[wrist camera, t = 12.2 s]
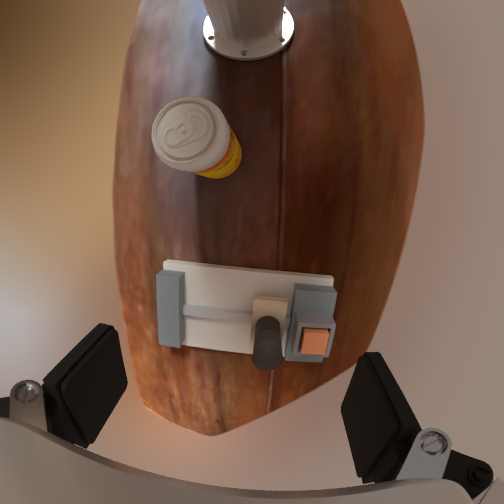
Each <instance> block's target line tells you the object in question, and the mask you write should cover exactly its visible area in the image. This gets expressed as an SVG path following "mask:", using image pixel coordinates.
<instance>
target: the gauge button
mask: <svg viewBox="0 0 504 504" xmlns="http://www.w3.org/2000/svg"><path fill="white" fill-rule="evenodd" d="M328 338H329V332H328V329H327V328H311V327H302V330H301V336H300V341H299V346H300V352H301V354H320V355H325V351H326V347H327V342H328Z"/></svg>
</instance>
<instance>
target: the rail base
mask: <svg viewBox="0 0 504 504" xmlns="http://www.w3.org/2000/svg"><path fill="white" fill-rule="evenodd" d="M333 282H334V278H333V277H332V276H331V275H320V274H308V273H297V272H287V271H276V270H265V269H255V268H245V267H235V266H225V265H216V264H206V263H197V262H187V261H178V260H169V259H167V260H165V261H164V262H163V270H162V271H160V272H159V273H158V274H156V290H157V318H158V336H159V344H160V345H165V346H171V347H176V348H180V347H181V345H187V346H193V347H200V348H206V349H214V350H221V351H229V352H238V353H247V354H253V350H251V349H249V344H250V334H251V324H252V314H253V304H254V295H266V296H277V297H287V299H288V306H287V312H286V319H285V326H284V332H283V339H282V354H283V357H285V361H300V362H322V361H323V357H329V353H330V349H331V345H332V341H333V337H334V333H335V328H336V323H335V321H334V319H333V313H334V308H335V303H336V297H337V292H336V290H335V289H334V287H333ZM302 327H311V328H327V329H328V332H329V338H328V342H327V347H326V351H325V355H320V354H301V352H300V346H299V341H300V336H301V330H302Z"/></svg>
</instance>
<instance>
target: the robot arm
mask: <svg viewBox="0 0 504 504" xmlns="http://www.w3.org/2000/svg"><path fill="white" fill-rule="evenodd" d="M203 2H204V5H205V7H206V10H207V13H208V15H207V17H206V19H205V21H204V24H203V35H204V38H205V40H206V42H207V44H208V45H209V47H210V48H211V49H212V50H214V51H215V52H216V53H218V54H220V55H221V56H224V57H226V58H229V59H234V60H242V61H250V60H258V59H263V58H267V57H269V56H272V55H274V54H276V53H278V52H280V51H281V50H282V49H283V48H285V47H286V45H287V44H288V43H289V42H290V40H291V38H292V36H293V31H294V22H293V18H292V16H291V14H290V13H289V11H288V10H287V9H286V8H285V7H284V5H285V0H203ZM243 55H245V56H243ZM43 382H44V384H43V385H42V386H41V385H40V384H39V383H38V382H36V381H33V380H24V381H20V382H18V383H17V384H15V385H14V386H13V388H12V389H11V393H10V397H4V398H0V504H504V482H503V481H502V480H500V479H499V478H496V479H495V480H494V479H493V471H492V469H491V467H490V466H489V465H488V464H487V463H485V462H484V461H481V460H478V459H475V458H472V457H470V456H467V455H464V454H461V453H459V452H456V451H454V450H451V445H452V443H451V440H450V438H449V436H448V435H447V434H446V433H445V432H443V431H442V430H440V429H436V428H427V429H423V430H422V429H421V427H420V425H419V423H418V421H417V419H416V417H415V415H414V413H413V412H412V409H411V408H410V406H409V404H408V402H407V400H406V398H405V396H404V395H403V393H402V391H401V389H400V387H399V386H398V384H397V382H396V380H395V378H394V377H393V375H392V373H391V371H390V369H389V368H388V366H387V364H386V362H385V361H384V359H383V357H382V356H381V354H380V353H379V352H365V353H364V354H363V356H360V357H359V358H358V361H357V364H356V367H355V370H354V373H353V376H352V378H351V381H350V384H349V387H348V389H347V392H346V395H345V397H344V400H343V402H342V405H341V414H342V417H343V421H344V425H345V429H346V433H347V437H348V441H349V445H350V449H351V453H352V457H353V461H354V465H355V469H356V473H357V476H358V477H361V478H362V482H363V484H365V483H371V482H375V483H374V484H368V485H361V486H354V487H346V488H335V489H323V490H307V491H266V490H249V489H237V488H227V487H219V486H212V485H206V484H200V483H194V482H189V481H184V480H179V479H174V478H170V477H165V476H162V475H158V474H154V473H151V472H147V471H143V470H140V469H137V468H134V467H130V466H127V465H124V464H121V463H118V462H116V461H113V460H110V459H107V458H105V457H102V456H100V455H97V454H94V453H92V452H90V451H88V450H85V449H87V447H88V446H89V444H92V443H94V441H95V440H96V438H97V436H98V434H99V433H100V431H101V429H102V428H103V426H104V424H105V423H106V421H107V419H108V418H109V416H110V414H111V413H112V411H113V409H114V408H115V406H116V404H117V403H118V401H119V400H120V398H121V396H122V394H123V393H124V391H125V390H126V387H127V383H128V381H127V376H126V372H125V367H124V363H123V358H122V353H121V348H120V342H119V337H118V332H117V331H116V330H115V329H114V327H113V326H111V325H106V324H102V323H99V324H98V325H97V326H96V327H95V328H94V329H93V330H92V331H91V332H89V334H88V335H86V336H85V337H84V338H83V339H82V340H81V341H80V342H79V343H78V344H77V345H76V346H75V347H74V348H73V349H72V350H71V351H70V352H69V353H68V354H67V355H66V356H65V357H64V358H63V359H62V360H61V361H60V363H58V364H57V365H56V366H55V367H54V368H53V369H52V370H51V371H50V372H49V373H48V375H47V376H46V377H45V378H44V379H43ZM74 444H76V445H79V446H81V447H83V448H85V449H83V448H81V447H78V446H76V445H74Z"/></svg>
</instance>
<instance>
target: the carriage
mask: <svg viewBox="0 0 504 504" xmlns="http://www.w3.org/2000/svg"><path fill="white" fill-rule="evenodd" d="M287 306H288V299H287V297H277V296H266V295H254V304H253V314H252V324H251V334H250V344H249V349H251V350H253V358H252V359H253V362H254V364H255V365H256V366H257V367H258V368H260V369H263V370H272V369H275V368H277V367H278V366H279V365H280V364H281V363H282V360H283V354H282V339H283V332H284V326H285V319H286V312H287Z"/></svg>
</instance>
